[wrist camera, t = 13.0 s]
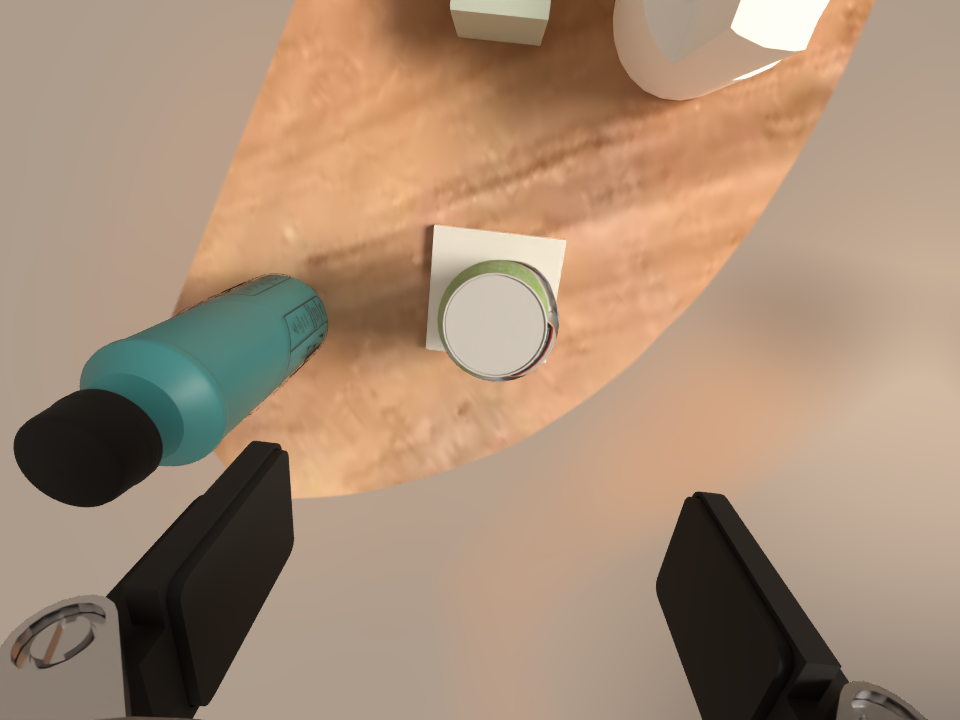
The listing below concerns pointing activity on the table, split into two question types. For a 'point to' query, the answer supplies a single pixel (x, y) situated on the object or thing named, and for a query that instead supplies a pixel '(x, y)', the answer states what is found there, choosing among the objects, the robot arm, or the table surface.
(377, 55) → the table surface
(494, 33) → the sage block
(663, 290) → the table surface
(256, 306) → the beverage bottle
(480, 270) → the beverage can
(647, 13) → the cylinder with rectangular tab
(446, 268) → the coaster
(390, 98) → the table surface
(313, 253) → the table surface
